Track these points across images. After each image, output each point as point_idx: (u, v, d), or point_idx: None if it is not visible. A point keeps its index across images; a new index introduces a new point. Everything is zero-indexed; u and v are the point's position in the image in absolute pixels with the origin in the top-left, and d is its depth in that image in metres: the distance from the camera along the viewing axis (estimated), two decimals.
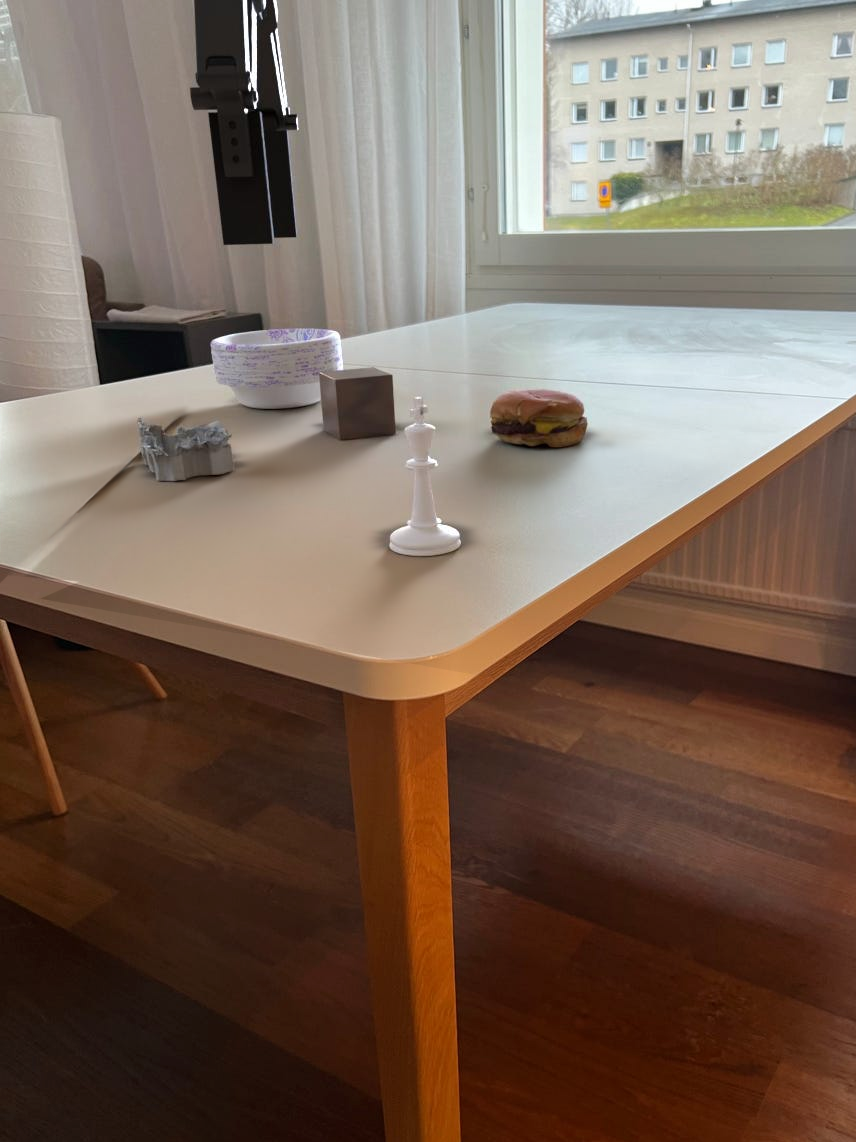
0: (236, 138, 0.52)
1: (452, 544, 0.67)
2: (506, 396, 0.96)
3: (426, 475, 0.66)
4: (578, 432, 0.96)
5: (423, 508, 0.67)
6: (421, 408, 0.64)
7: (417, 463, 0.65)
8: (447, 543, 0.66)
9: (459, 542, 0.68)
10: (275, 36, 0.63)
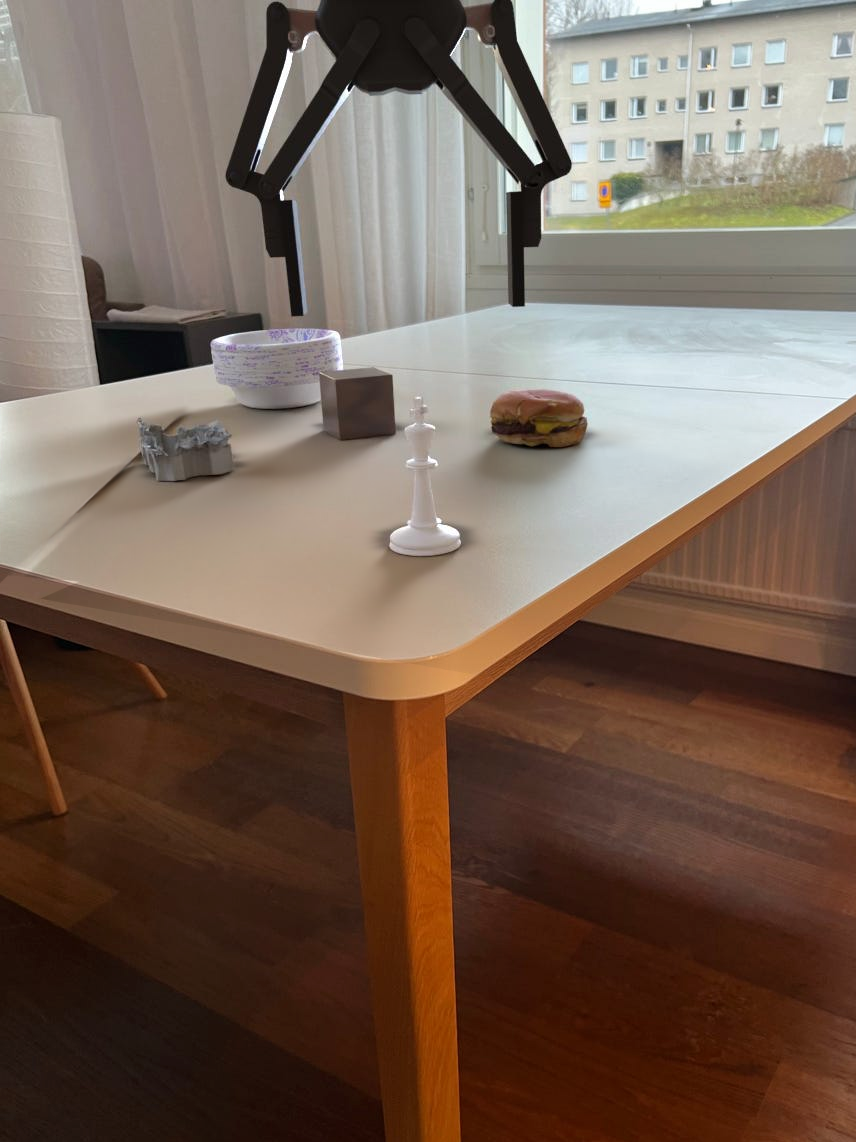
0: None
1: (452, 544, 0.67)
2: (506, 396, 0.96)
3: (426, 475, 0.66)
4: (578, 432, 0.96)
5: (423, 508, 0.67)
6: (421, 408, 0.64)
7: (417, 463, 0.65)
8: (447, 543, 0.66)
9: (459, 542, 0.68)
10: (278, 100, 0.58)
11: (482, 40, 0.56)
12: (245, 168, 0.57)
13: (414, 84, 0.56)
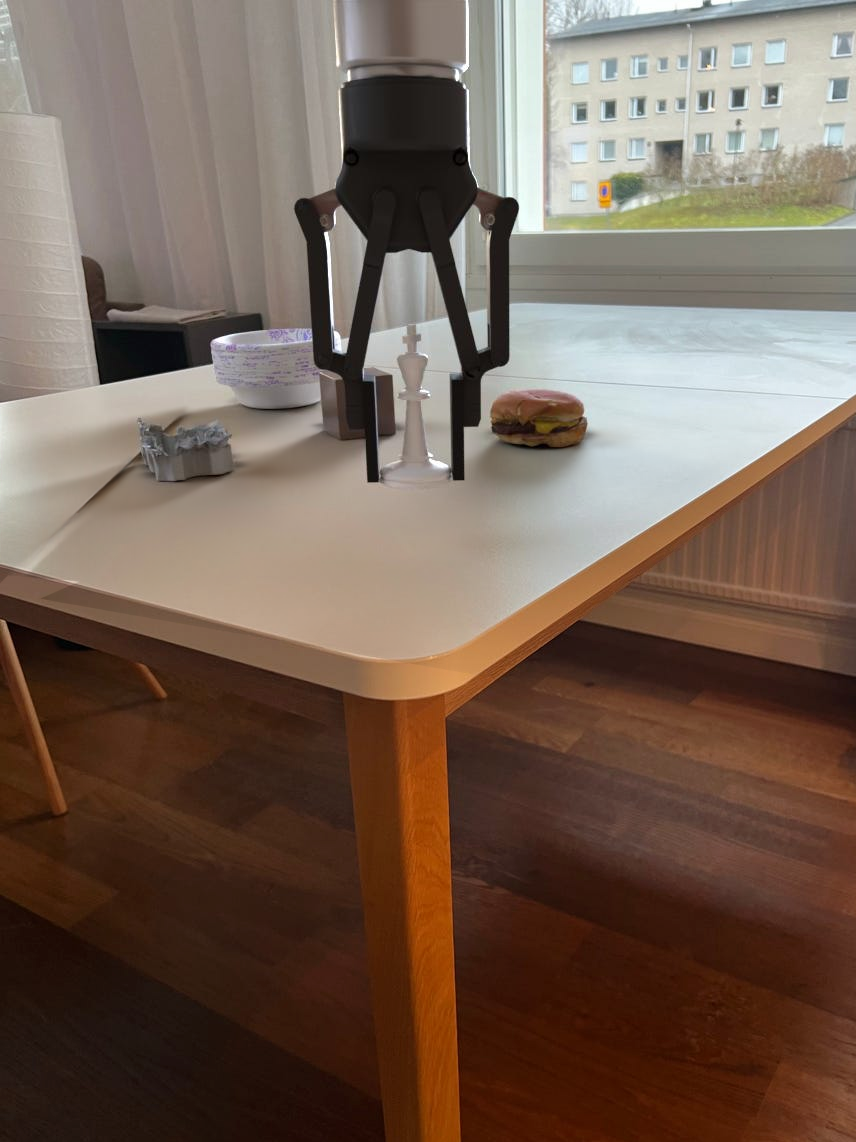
0: None
1: (444, 478, 0.65)
2: (506, 396, 0.96)
3: (418, 406, 0.64)
4: (578, 432, 0.96)
5: (415, 440, 0.65)
6: (414, 335, 0.63)
7: (409, 393, 0.63)
8: (438, 477, 0.65)
9: (451, 477, 0.66)
10: None
11: (481, 222, 0.60)
12: (328, 349, 0.62)
13: (427, 247, 0.60)
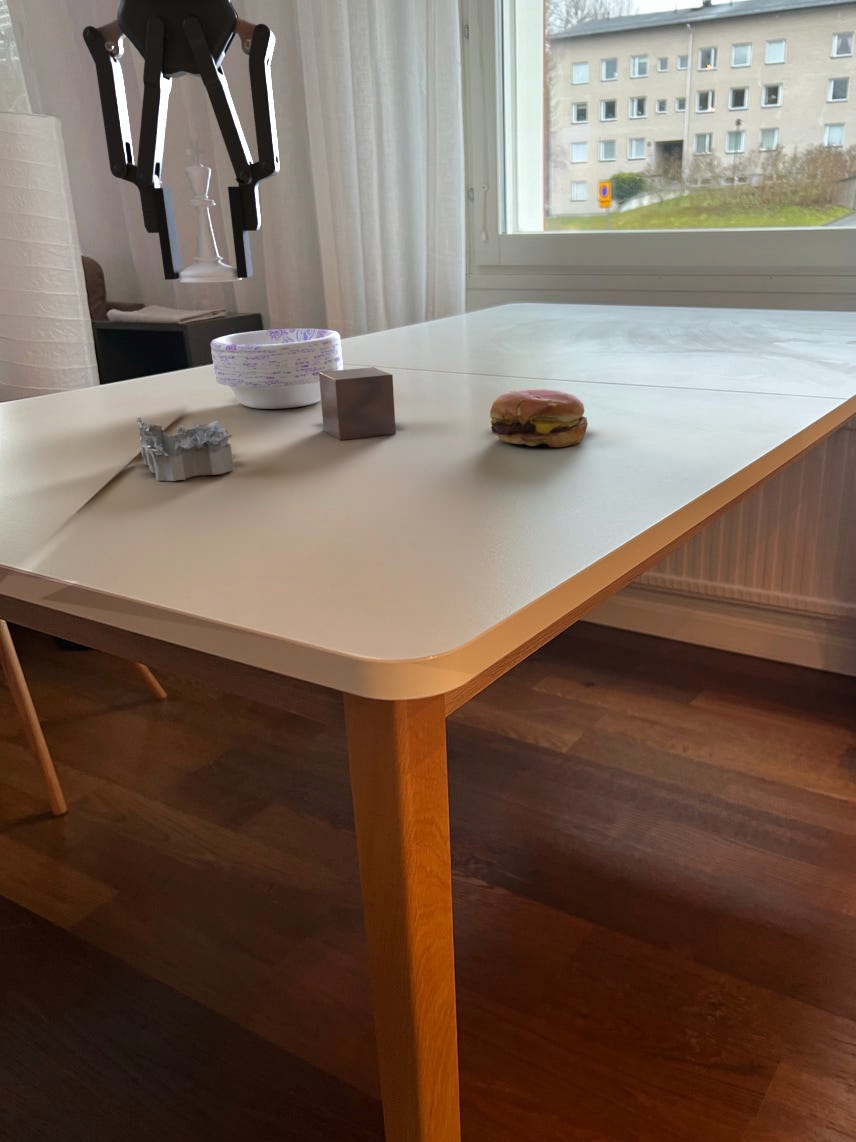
0: (256, 205, 0.77)
1: (230, 275, 0.77)
2: (506, 396, 0.96)
3: (205, 212, 0.76)
4: (578, 432, 0.96)
5: (204, 242, 0.77)
6: (197, 149, 0.75)
7: (195, 199, 0.76)
8: (223, 273, 0.77)
9: None
10: (125, 100, 0.74)
11: (242, 47, 0.72)
12: (122, 159, 0.74)
13: (197, 69, 0.72)
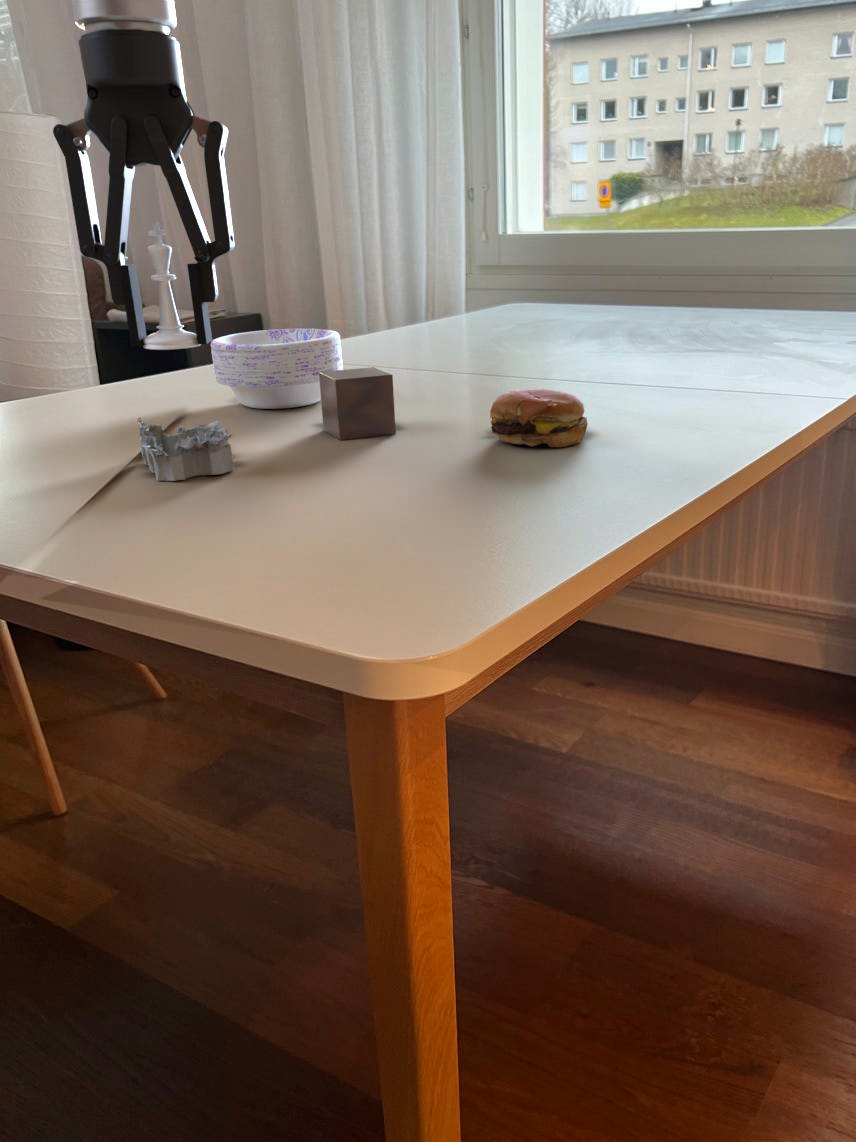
0: (214, 279, 0.85)
1: (190, 342, 0.85)
2: (506, 396, 0.96)
3: (167, 286, 0.84)
4: (578, 432, 0.96)
5: (166, 313, 0.85)
6: (158, 230, 0.83)
7: (158, 275, 0.84)
8: (184, 340, 0.85)
9: None
10: (92, 186, 0.82)
11: (198, 141, 0.80)
12: (90, 241, 0.82)
13: (157, 160, 0.80)
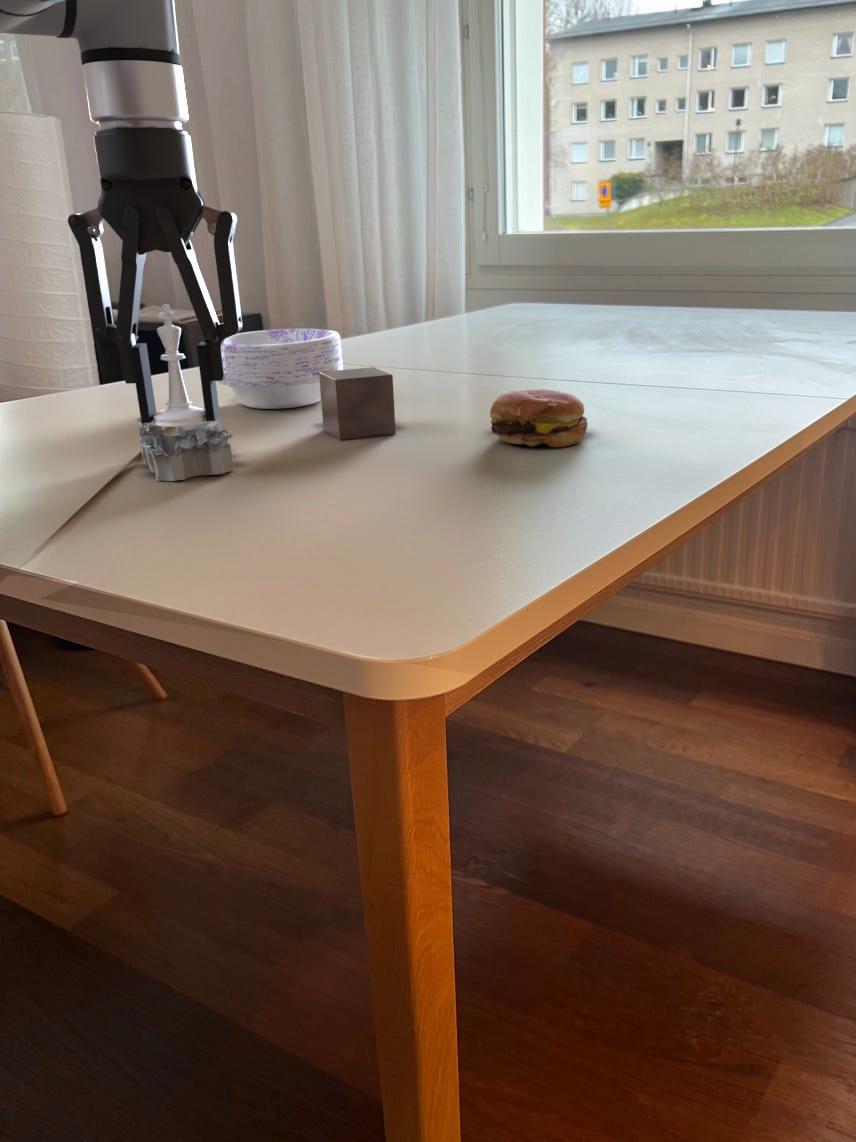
0: (222, 358, 0.87)
1: (199, 419, 0.88)
2: (506, 396, 0.96)
3: (176, 365, 0.87)
4: (578, 432, 0.96)
5: (175, 391, 0.87)
6: (168, 312, 0.85)
7: (167, 355, 0.86)
8: (193, 417, 0.87)
9: None
10: (105, 270, 0.85)
11: (208, 229, 0.83)
12: (102, 323, 0.84)
13: (168, 248, 0.82)
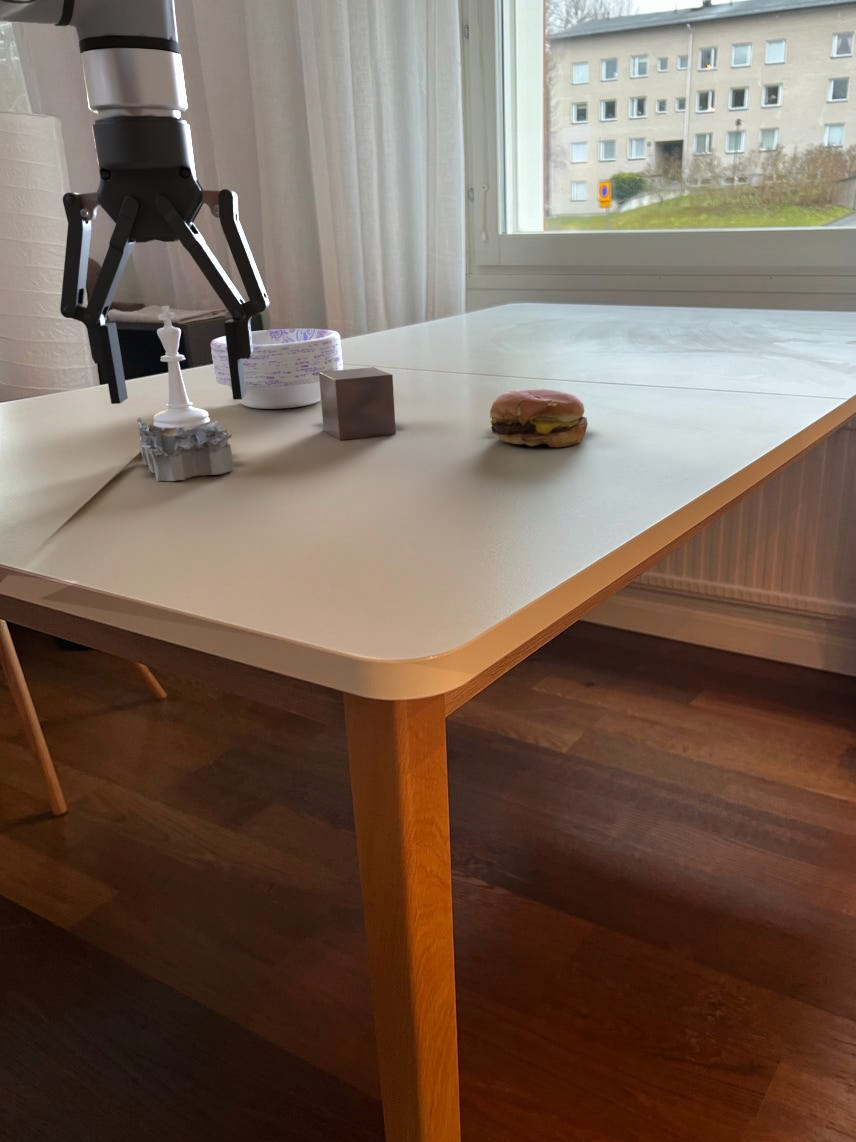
0: None
1: (199, 420, 0.88)
2: (506, 396, 0.96)
3: (176, 366, 0.87)
4: (578, 432, 0.96)
5: (175, 392, 0.87)
6: (168, 314, 0.85)
7: (167, 356, 0.86)
8: (193, 419, 0.87)
9: (207, 420, 0.89)
10: (88, 252, 0.84)
11: (212, 213, 0.82)
12: (72, 304, 0.83)
13: (167, 237, 0.82)
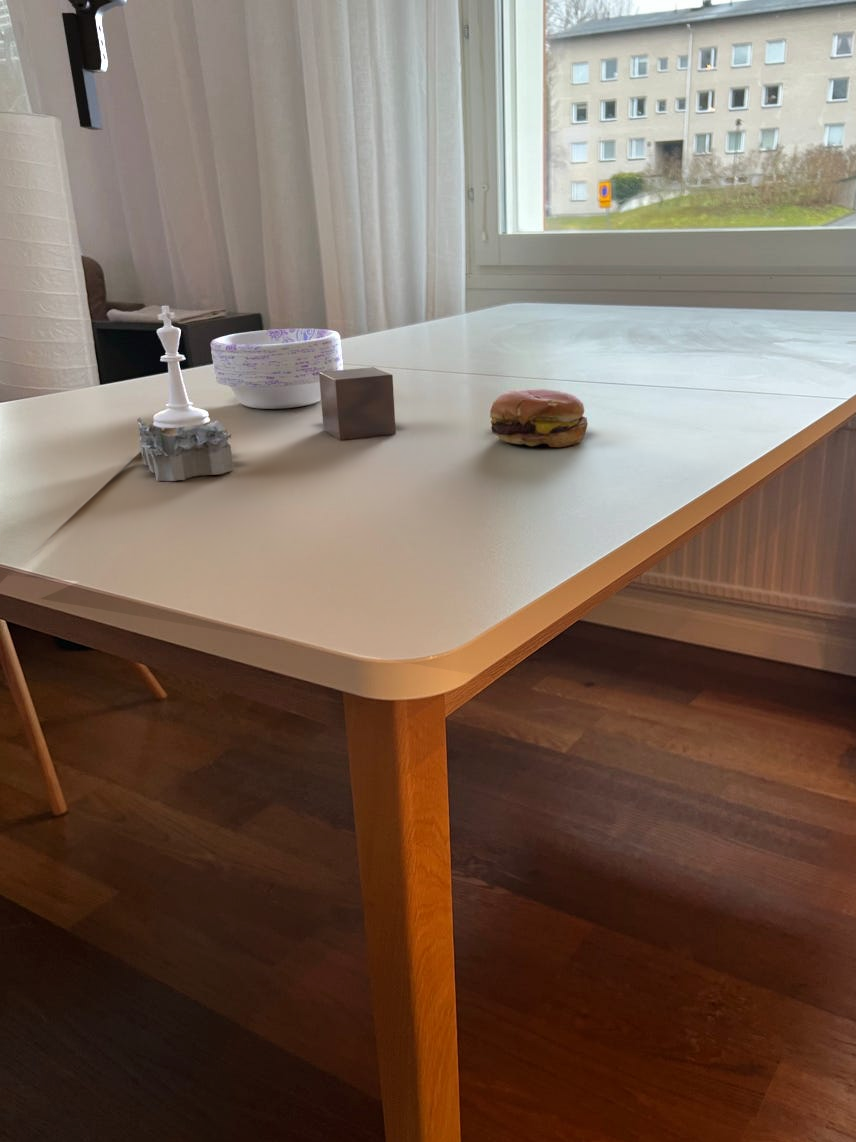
0: (100, 40, 0.65)
1: (199, 420, 0.88)
2: (506, 396, 0.96)
3: (176, 366, 0.87)
4: (578, 432, 0.96)
5: (175, 392, 0.87)
6: (168, 314, 0.85)
7: (167, 356, 0.86)
8: (193, 418, 0.87)
9: (207, 420, 0.89)
10: None
11: None
12: None
13: None
